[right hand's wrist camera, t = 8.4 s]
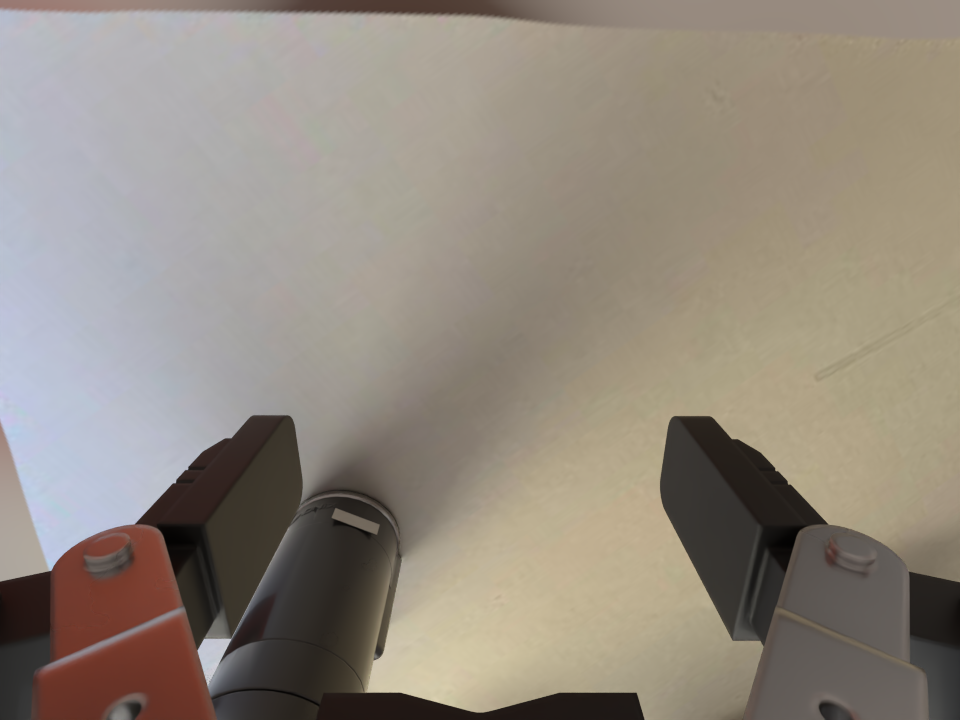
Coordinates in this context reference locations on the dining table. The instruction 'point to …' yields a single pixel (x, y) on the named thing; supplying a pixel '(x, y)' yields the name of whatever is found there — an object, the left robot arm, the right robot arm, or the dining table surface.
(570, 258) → the dining table surface
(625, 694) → the right robot arm
